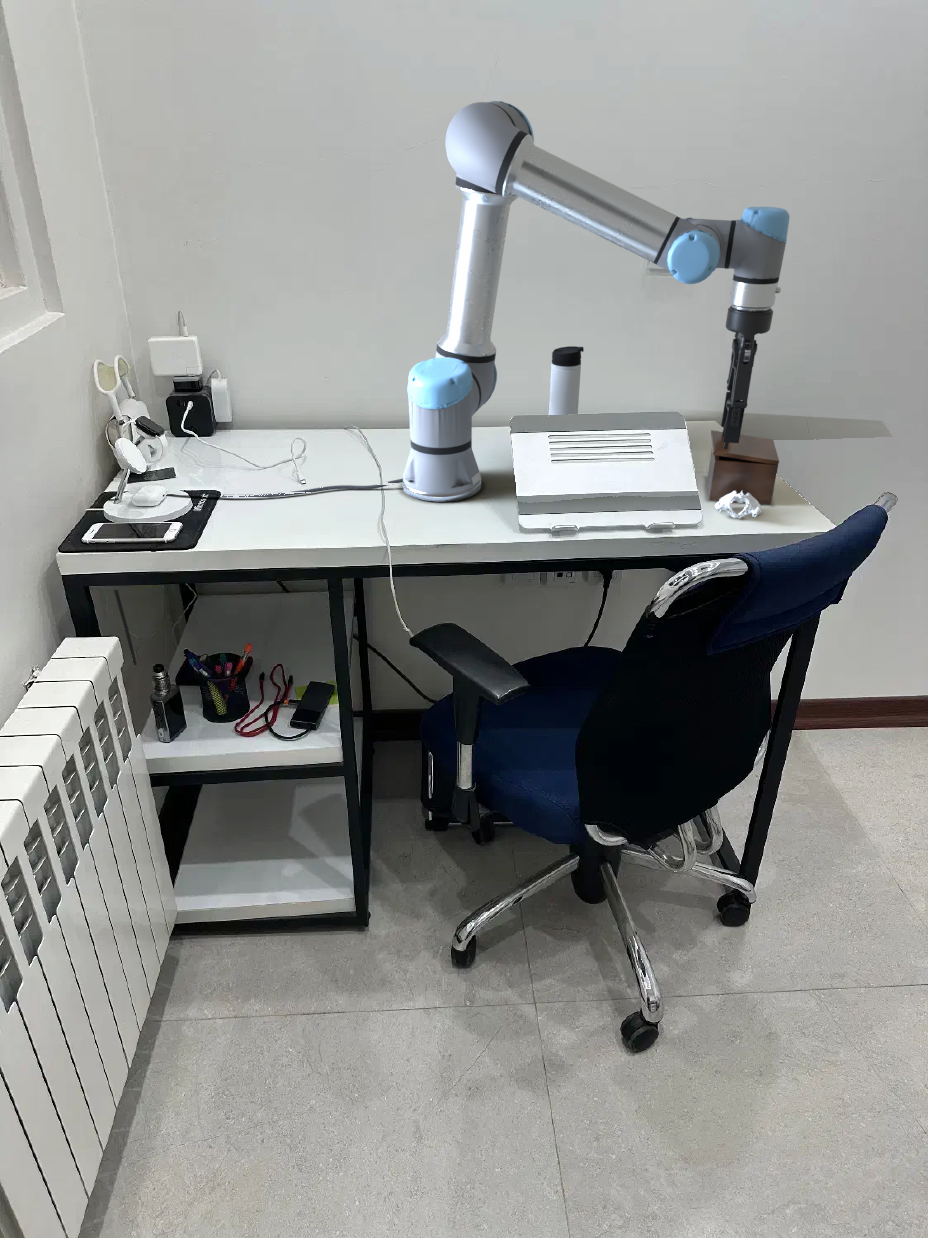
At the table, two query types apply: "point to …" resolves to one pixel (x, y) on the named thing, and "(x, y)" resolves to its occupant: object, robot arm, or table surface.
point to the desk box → (740, 478)
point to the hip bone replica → (751, 502)
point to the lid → (744, 447)
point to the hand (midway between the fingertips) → (729, 433)
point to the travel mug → (565, 380)
